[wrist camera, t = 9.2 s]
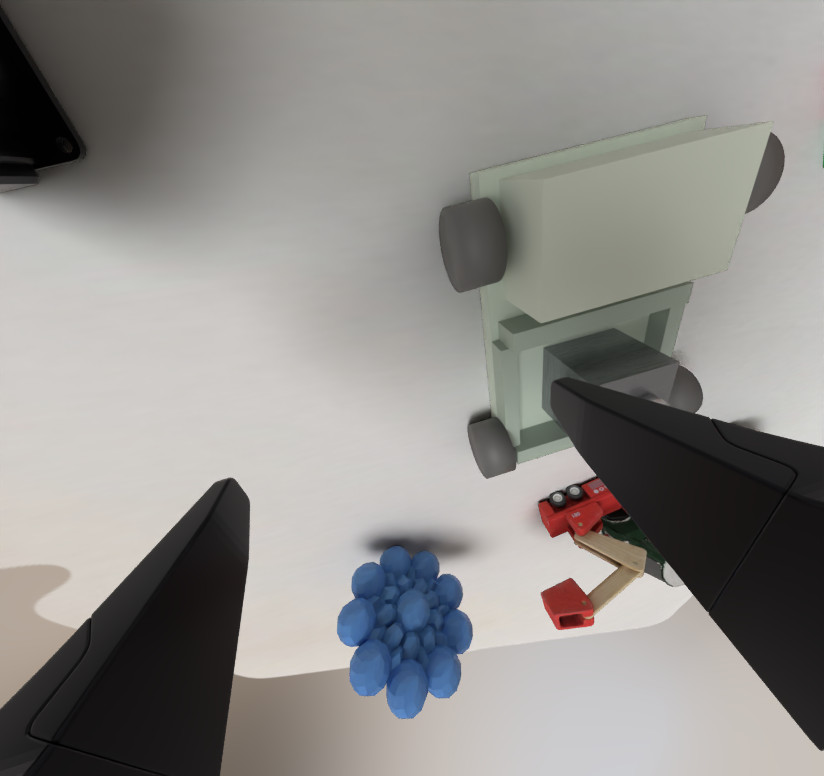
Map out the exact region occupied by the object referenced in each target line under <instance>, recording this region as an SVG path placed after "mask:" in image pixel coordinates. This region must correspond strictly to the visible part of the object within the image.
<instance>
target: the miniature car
mask: <svg viewBox="0 0 824 776" xmlns="http://www.w3.org/2000/svg"><path fill="white" fill-rule="evenodd" d="M755 430H756V431H759V430H758V429H755ZM759 432H760V431H759ZM763 433H764V432H763ZM604 517H606V518H607V519H605V518H603V519H602V518H601V521H602V523H603V528H602V530H601V531H600V532H599V534H603V535H605V536H608V537H611V538H614V539H617V540H619V541H622V542H625V543H628V544H631V545H634V546H637V547H640V548H643V549H645V550H646V551H647V555H646V562H645V569H644V572H645V573H648V574H650V575H652V576H654V577H656V578H658V579H660V580H661V581H663V582H665V583H666V584H667V585H669V586H672V587H678V586H681V585H685V584H684V583H683V581H682V580H681V579H680V578H679V576H678V575H677V574H676V573H675V572H674V570H673V569H672V568H671V567H670V565H669V564H668V563H667V562H666V560H665V559H664V558H663V557H662V555H661V554H660V553H659V552H658V550H657V549H656V548H655V547H654V546H653V544H652V543H651V542H650V541H649V539H648V538H647V537H646V536H645V534H644V533H643V532H642V531H641V529H640V528H639V527H638V526H637V524H636V523H635V522H634V521H633V520H632V518H631V517H630V516H629V515H628V514H627V513H626V511H625V510H624V509H623V508H620V509H618V510H616V511H613V512H611V513H609V514H607V515H604ZM604 519H605V520H604Z"/></svg>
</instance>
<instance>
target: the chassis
mask: <svg viewBox="0 0 824 776" xmlns="http://www.w3.org/2000/svg"><path fill="white" fill-rule="evenodd" d="M706 118H707V115H705V116H699V117H693V118H687V119H683V120H679V121H675V122H671V123H667V124H663V125H659V126H655V127H651V128H647V129H643V130H639V131H635V132H631V133H627V134H623V135H619V136H615V137H611V138H607V139H603V140H599V141H595V142H591V143H587V144H583V145H579V146H575V147H571V148H567V149H563V150H559V151H555V152H551V153H547V154H543V155H539V156H536V157H532V158H528V159H524V160H520V161H516V162H512V163H508V164H504V165H500V166H496V167H492V168H488V169H484V170H480V171H476V172H472V173H469V175H470V186H471V197H472V201H469V202H465V203H461V204H457V205H453V206H449V207H445V208H443V209H442V211H441V213H440V218H439V237H440V246H441V252H442V257H443V261H444V265H445V268H446V271H447V274H448V277H449V279H450V282H451V284H452V286H453V287H454V289H455V290H456V291H457V292H459V293H461V292H464V291H468V290H472V289H475V288H479V287H480V296H481V307H482V318H483V329H484V340H485V351H486V362H487V373H488V384H489V395H490V406H491V417H492V418H490V419H487V420H483V421H480V422H477V423H473V424H470V425H468V437H469V441H470V445H471V449H472V452H473V455H474V458H475V460H476V463H477V465H478V467H479V469H480V471H481V473H482V474H483V476H484V477H485V478H486V479H488V478H491V477H494V476H497V475H501V474H504V473H507V472H510V471H513V470H515V469H516V462H517V463H518V464H520V463H523V462H527V461H530V460H533V459H536V458H539V457H542V456H546V455H549V454H552V453H555V452H558V451H562V450H565V449H568V448H571V447H574V445H573V443H572V441H571V440H570V438H569V437H568V435H567V434H566V433H565V432H564V431H563V430H562V429H561V428H560V427H559V426H558V425H557V424H556V423H555V422H554V420H553V419H552V418H551V417H550V416H549V415H548V414H547V413H546V412H545V411H544V410H543V409H542V379H543V348H544V347H547V346H551V345H554V344H558V343H562V342H565V341H569V340H572V339H576V338H579V337H583V336H587V335H590V334H594V333H597V332H601V331H604V330H608V329H612V328H615V329H617V330H619V331H621V332H623V333H625V334H627V335H629V336H631V337H633V338H635V339H637V340H638V341H640V342H642V343H644V344H646V345H648V346H650V347H652V348H654V349H656V350H658V351H660V352H661V353H663V354H665V355H667V356H669V357H672V353H673V349H674V345H675V341H676V337H677V333H678V330H679V326H680V322H681V318H682V314H683V310H684V307H685V303H688V301H689V298H690V294H691V290H692V286H693V282H689V281H691V280H694V279H698V278H701V277H705V276H708V275H712V274H715V273H719V272H722V271H726V270H727V269H728V266H729V263H730V259H731V256H732V253H733V250H734V247H735V243H736V240H737V237H738V234H739V231H740V227H741V224H742V221H743V218H744V215H745V214H746V213H748V212H750V211H752V210H754V209H755V208H757V207H758V206H760V205H761V204H762V203H763V202H764V201H765V200H766V199H767V198H768V197H769V196H770V195H771V194H772V192H773V191H774V189H775V188H776V186H777V184H778V182H779V180H780V178H781V175H782V172H783V168H784V158H785V156H784V150H783V146H782V144H781V142H780V140H779V139H778V138H777V136H775V135H774V134H773V133H771V129H772V126H773V122H774V121H769V122H762V123H754V124H746V125H738V126H731V127H723V128H715V129H707V130H704V127H705V123H706ZM702 401H703V393H702V389H701V386H700V384H699V382H698V380H697V379H696V377H695V376H694V375H693V374H692V373H691V372H690V371H689V370H688V369H686V368H684V367H682V366H680V365H679V366H678V369H677V373H676V376H675V380H674V383H673V386H672V390H671V393H670V397H669V400H668V404H669V405H670V406H671V407H674V408H678V409H681V410H685V411H688V412H692V413H695V412H697V411H698V410H699V408H700V407H701V405H702Z"/></svg>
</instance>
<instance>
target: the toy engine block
mask: <svg viewBox="0 0 824 776" xmlns="http://www.w3.org/2000/svg"><path fill="white" fill-rule="evenodd" d="M678 366H679V361H677V360H675V359H673V358H671V357H669V356H667V355H665V354H663V353H661V352H660V351H658V350H656V349H654V348H652V347H650V346H648V345H646V344H644V343H642V342H640V341H638V340H637V339H635V338H633V337H631V336H629V335H627V334H625V333H623V332H621V331H619V330H617V329H615V328H612V329H608V330H604V331H601V332H597V333H594V334H590V335H587V336H583V337H579V338H576V339H572V340H569V341H565V342H562V343H558V344H554V345H551V346H547V347H544V348H543V379H542V409H543V410H544V411H545V412H546V413H547V414H548V415H549V416H550V417H551V418H552V419H553V420H554V422H555V423H556V424H557V425H558V426H559V427H560V428H561V429H562V430H563V431H564V432H565V430H564V429H563V427H562V426H561V424H560V423H559V421H558V419H557V418H556V416H555V415H554V413H553V411H552V409H551V406H550V393H551V383H552V381H553V380H556V379H559V378H562V377H570V378H573V379H577V380H580V381H584V382H587V383H591V384H594V385H598V386H601V387H605V388H608V389H612V390H615V391H619V392H622V393H626V394H629V395H633V396H636V397H640V398H643V399H647V400H650V401H654V402H657V403H660V404H664V405H667V406H670V405H669V404H668V400H669V397H670V393H671V390H672V386H673V383H674V380H675V376H676V373H677V369H678ZM565 433H566V432H565Z"/></svg>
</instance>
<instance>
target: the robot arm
mask: <svg viewBox="0 0 824 776" xmlns="http://www.w3.org/2000/svg"><path fill="white" fill-rule="evenodd" d="M63 139H67V140H68V141H69V142H70V143H71V145H72V147H73V149H72V152H68V151H67V150H66V149H65V148H64V146H63V144H62V142H63ZM85 156H86V148H85V145H84V143H83V141H82V140H81V138H80V136H79V135H78V133H77V131H76V130H75V128H74V126H73V125H72V123H71V121H70V120H69V118H68V116H67V115H66V113H65V112H64V110H63V108H62V107H61V105H60V103H59V102H58V100H57V98H56V97H55V95H54V93H53V92H52V90H51V88H50V87H49V85H48V84H47V82H46V80H45V79H44V77H43V75H42V74H41V72H40V70H39V69H38V67H37V65H36V64H35V62H34V60H33V59H32V57H31V55H30V54H29V52H28V51H27V49H26V47H25V46H24V44H23V42H22V41H21V39H20V37H19V36H18V34H17V32H16V31H15V29H14V27H13V26H12V24H11V23H10V21H9V19H8V18H7V16H6V14H5V13H4V11H3V9H2V8H1V6H0V193H2V192H6V191H10V190H14V189H19V188H23V187H27V186H32V185H36V184H38V182H39V179H40V176H39V174H38V173H37V171H38V170H43V169H47V168H52V167H56V166H60V165H65V164H69V163H73V162H78V161H81V160H83V159H84V158H85ZM550 406H551V409H552V411H553V413H554V415H555V416H556V418H557V419H558V421H559V423H560V424H561V426H562V427H563V429H564V430H565V432H566V434H567V435H568V437H569V438H570V440H571V441H572V443H573V445H574V446H575V448H576V449H577V451H578V452H579V454H580V455H581V456H582V457H583V459H584V460H585V461H586V463H587V464H588V465H589V466H590V468H591V469H592V470H593V471H594V472H595V474H596V475H597V476H598V477H599V479H600V480H601V481H602V482H603V484H604V485H605V486H606V487H607V489H608V490H609V491H610V492H611V494H612V495H613V496H614V497H615V498H616V500H617V501H618V502H619V503H620V505H621V506H622V507H623V508H624V510H625V511H626V512H627V513H628V515H629V516H630V517H631V518H632V520H633V521H634V522H635V523H636V524H637V526H638V527H639V528H640V529H641V531H642V532H643V533H644V534H645V536H646V537H647V538H648V539H649V541H650V542H651V543H652V544H653V546H654V547H655V548H656V549H657V550H658V552H659V553H660V554H661V555H662V557H663V558H664V559H665V560H666V562H667V563H668V564H669V565H670V567H671V568H672V569H673V570H674V572H675V573H676V574H677V575H678V576H679V578H680V579H681V580H682V581H683V583H684V584H685V585H686V586H687V588H688V589H689V590H690V591H691V593H692V594H693V595H694V596H695V597H696V599H697V600H698V601H699V602H700V604H701V605H702V606H703V607H704V609H705V610H706V611H707V612H709V615H710V616H711V618H712V619H713V620H714V621H715V623H716V624H717V625H718V626H719V627H720V629H721V630H722V631H723V633H724V634H725V635H726V636H727V637H728V639H729V640H730V641H731V642H732V644H733V645H734V646H735V647H736V649H737V650H738V651H739V652H740V654H741V655H742V656H743V657H744V659H745V660H746V661H747V662H748V663H749V665H750V666H751V667H752V668H753V670H754V671H755V672H756V673H757V675H758V676H759V677H760V678H761V679H762V681H763V682H764V683H765V684H766V686H767V687H768V688H769V689H770V691H771V692H772V693H773V694H774V696H775V697H776V698H777V699H778V701H779V702H780V703H781V704H782V706H783V707H784V708H785V709H786V710H787V712H788V713H789V714H790V715H791V717H792V718H793V719H794V720H795V722H796V723H797V724H798V725H799V727H800V728H801V729H802V730H803V732H804V733H805V734H806V735H807V736H808V738H809V739H810V740H811V741H812V742H813V743H814V744H815V745H816V747H817V748H818V749H819V750H821V751H823V750H824V447H822V446H817V445H813V444H809V443H805V442H800V441H796V440H792V439H788V438H784V437H780V436H776V435H771V434H767V433H763V432H759V431H756V430H752V429H748V428H745V427H741V426H737V425H734V424H730V423H727V422H723V421H720V420H716V419H710V418H709V417H706V416H702V415H699V414H695V413H692V412H688V411H685V410H681V409H678V408H674V407H671V406H667V405H664V404H660V403H657V402H654V401H650V400H647V399H643V398H640V397H636V396H633V395H629V394H626V393H622V392H619V391H615V390H612V389H608V388H605V387H601V386H598V385H594V384H591V383H587V382H584V381H580V380H577V379H573V378H570V377H562V378H559V379H556V380H553V381H552V383H551V393H550ZM249 530H250V501H249V498H248V496H247V495H246V493H245V492H244V491H243V489H242V488H241V487H240V485H239V484H238V482H237V481H236V480H235V479H234V478H227V479H223V480H220V481H217V482H215V483H214V484H213V485H212V486H211V487H210V488H209V489H208V490H207V492H206V493H205V494H204V495H203V496H202V497H201V498H200V499H199V500H198V501H197V502H196V503H195V504H194V506H193V507H192V508H191V509H190V510H189V511H188V512H187V513H186V514H185V515H184V516H183V517H182V518H181V519H180V521H179V522H178V523H177V524H176V525H175V526H174V527H173V528H172V529H171V530H170V531H169V532H168V533H167V534H166V536H165V537H164V538H163V539H162V540H161V541H160V542H159V543H158V544H157V545H156V546H155V547H154V548H153V549H152V551H151V552H150V553H149V554H148V555H147V556H146V557H145V558H144V559H143V560H142V561H141V562H140V563H139V565H138V566H137V567H136V568H135V569H134V570H133V571H132V572H131V573H130V574H129V575H128V576H127V577H126V578H125V580H124V581H123V582H122V583H121V584H120V585H119V586H118V587H117V588H116V589H115V590H114V591H113V592H112V593H111V595H110V596H109V597H108V598H107V599H106V600H105V601H104V602H103V603H102V604H101V605H100V606H99V607H98V608H97V610H96V611H95V612H94V613H93V614H92V616H91V618H89V619H87V620H86V621H85V622H84V623H83V624H82V626H81V627H80V628H79V629H78V630H77V631H76V632H75V633H74V635H72V636H71V637H70V639H69V640H68V641H67V642H66V643H65V644H64V645H63V646H62V647H61V648H60V649H59V650H58V651H57V652H56V653H55V654H54V655H53V656H52V657H51V658H50V659H49V661H48V662H47V663H46V664H45V665H44V666H43V667H42V668H41V669H40V670H39V671H38V672H37V673H36V674H35V675H34V676H33V677H32V678H31V679H30V680H29V681H28V682H27V683H26V684H25V685H24V686H23V687H22V688H21V689H20V690H19V691H18V692H17V693H16V694H15V695H14V696H13V697H12V698H11V699H10V700H9V701H8V702H7V703H6V704H5V705H4V706H3V707H2V708H1V709H0V776H220V770H221V762H222V755H223V748H224V741H225V733H226V725H227V718H228V710H229V703H230V696H231V688H232V680H233V674H234V666H235V659H236V651H237V644H238V636H239V629H240V621H241V614H242V607H243V599H244V592H245V584H246V577H247V569H248V560H249Z"/></svg>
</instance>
